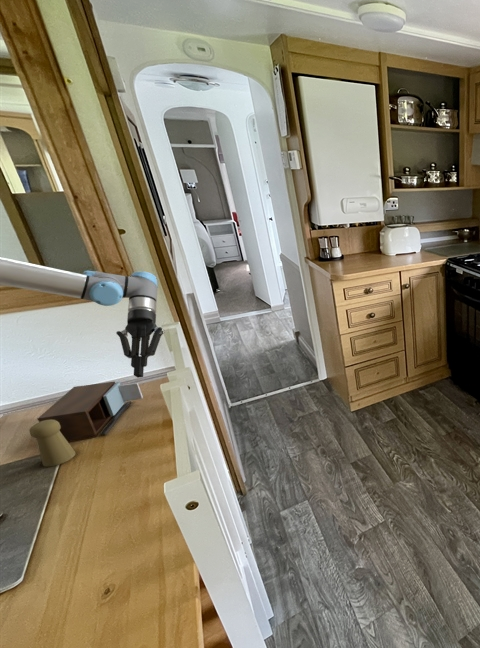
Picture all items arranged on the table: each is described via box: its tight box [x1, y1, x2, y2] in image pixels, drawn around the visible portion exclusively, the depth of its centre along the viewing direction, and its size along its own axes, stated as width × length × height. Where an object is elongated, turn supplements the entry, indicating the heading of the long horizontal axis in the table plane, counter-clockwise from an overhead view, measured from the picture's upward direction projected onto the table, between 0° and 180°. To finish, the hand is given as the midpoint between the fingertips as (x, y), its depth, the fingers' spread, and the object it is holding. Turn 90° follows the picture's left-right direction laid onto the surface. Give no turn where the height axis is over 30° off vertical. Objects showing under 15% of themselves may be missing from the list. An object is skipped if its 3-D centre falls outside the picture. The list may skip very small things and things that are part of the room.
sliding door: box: [103, 381, 144, 417], centre depth 117 cm, size 6×9×7 cm, turn 21°
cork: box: [29, 420, 76, 468], centre depth 95 cm, size 6×6×11 cm
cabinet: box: [37, 381, 132, 443], centre depth 111 cm, size 12×18×8 cm
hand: (138, 375), depth 124 cm, fingers closed
